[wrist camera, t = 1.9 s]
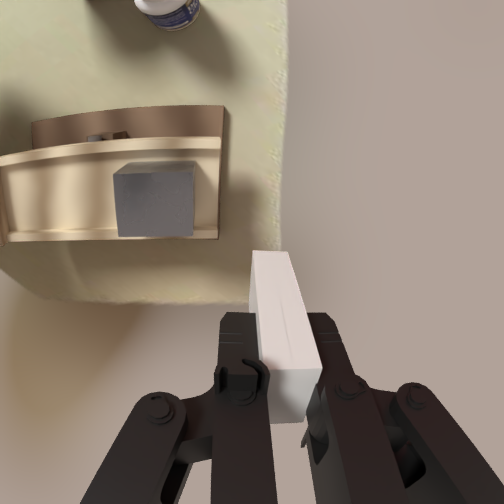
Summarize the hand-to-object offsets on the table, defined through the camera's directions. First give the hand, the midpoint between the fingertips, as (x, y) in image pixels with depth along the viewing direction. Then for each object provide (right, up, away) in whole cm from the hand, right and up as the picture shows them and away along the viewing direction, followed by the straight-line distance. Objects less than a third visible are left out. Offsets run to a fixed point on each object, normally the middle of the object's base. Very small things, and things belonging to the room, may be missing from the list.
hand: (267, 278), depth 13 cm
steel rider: (-9, +7, +12) cm, 17 cm away
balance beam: (-16, +8, +13) cm, 22 cm away
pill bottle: (-9, +27, +10) cm, 30 cm away
